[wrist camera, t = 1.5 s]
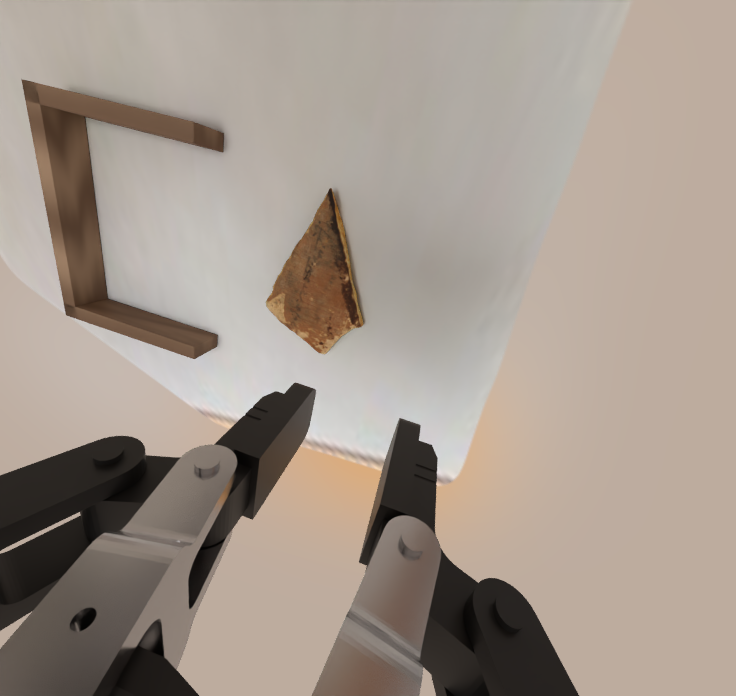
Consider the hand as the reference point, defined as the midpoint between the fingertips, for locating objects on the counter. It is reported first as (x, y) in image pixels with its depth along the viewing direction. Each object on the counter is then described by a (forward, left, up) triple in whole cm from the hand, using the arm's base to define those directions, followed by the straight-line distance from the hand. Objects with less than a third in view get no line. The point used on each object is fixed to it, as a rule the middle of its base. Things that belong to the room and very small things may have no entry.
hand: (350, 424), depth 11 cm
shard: (0, -8, -16) cm, 18 cm away
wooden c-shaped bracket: (0, -22, -15) cm, 27 cm away
